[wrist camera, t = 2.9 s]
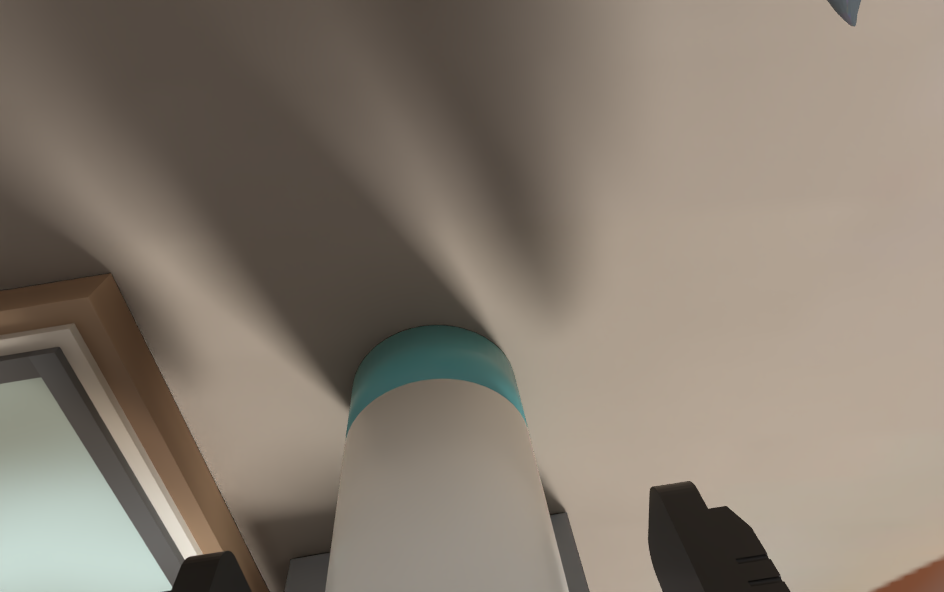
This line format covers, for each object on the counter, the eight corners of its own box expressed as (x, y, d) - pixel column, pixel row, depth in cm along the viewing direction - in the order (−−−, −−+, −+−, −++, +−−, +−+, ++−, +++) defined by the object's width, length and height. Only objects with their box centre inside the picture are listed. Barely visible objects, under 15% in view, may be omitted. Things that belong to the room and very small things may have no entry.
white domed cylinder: (334, 340, 14) (264, 692, 7) (507, 312, 14) (597, 636, 7) (372, 465, 16) (344, 830, 9) (523, 440, 16) (603, 785, 9)
